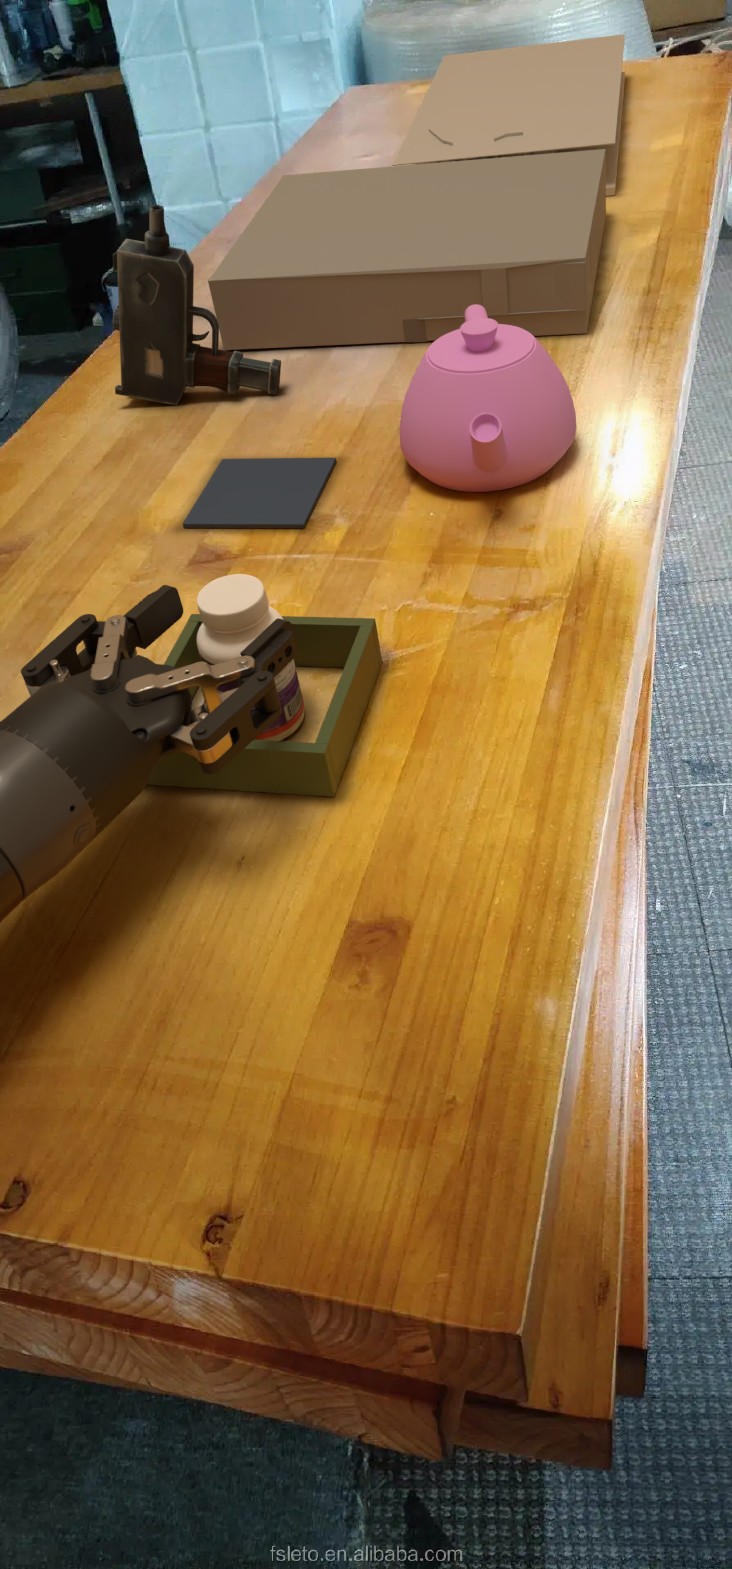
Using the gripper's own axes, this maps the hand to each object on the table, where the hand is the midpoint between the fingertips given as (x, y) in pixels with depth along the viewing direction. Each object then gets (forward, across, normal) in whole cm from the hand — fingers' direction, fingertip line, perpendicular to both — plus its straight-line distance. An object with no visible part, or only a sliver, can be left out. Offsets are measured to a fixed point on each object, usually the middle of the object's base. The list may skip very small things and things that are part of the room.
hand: (230, 614), depth 69 cm
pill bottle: (0, 0, +9) cm, 9 cm away
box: (+63, +27, +9) cm, 69 cm away
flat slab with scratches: (+105, +38, +9) cm, 112 cm away
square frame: (0, 0, +8) cm, 9 cm away
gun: (+35, +33, +9) cm, 49 cm away
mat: (+23, +17, +8) cm, 30 cm away
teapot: (+34, +2, +9) cm, 35 cm away
